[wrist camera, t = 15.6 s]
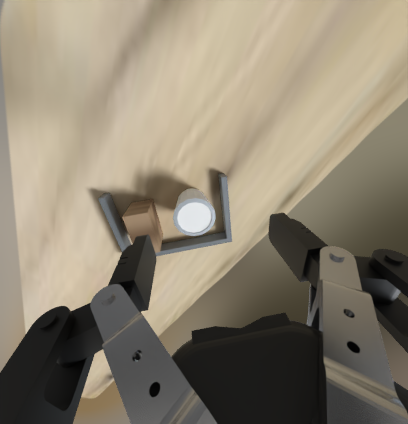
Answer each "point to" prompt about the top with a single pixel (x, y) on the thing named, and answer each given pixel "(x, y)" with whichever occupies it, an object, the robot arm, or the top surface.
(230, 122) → the top surface
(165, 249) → the grey u-shaped bracket
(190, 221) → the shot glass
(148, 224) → the block
